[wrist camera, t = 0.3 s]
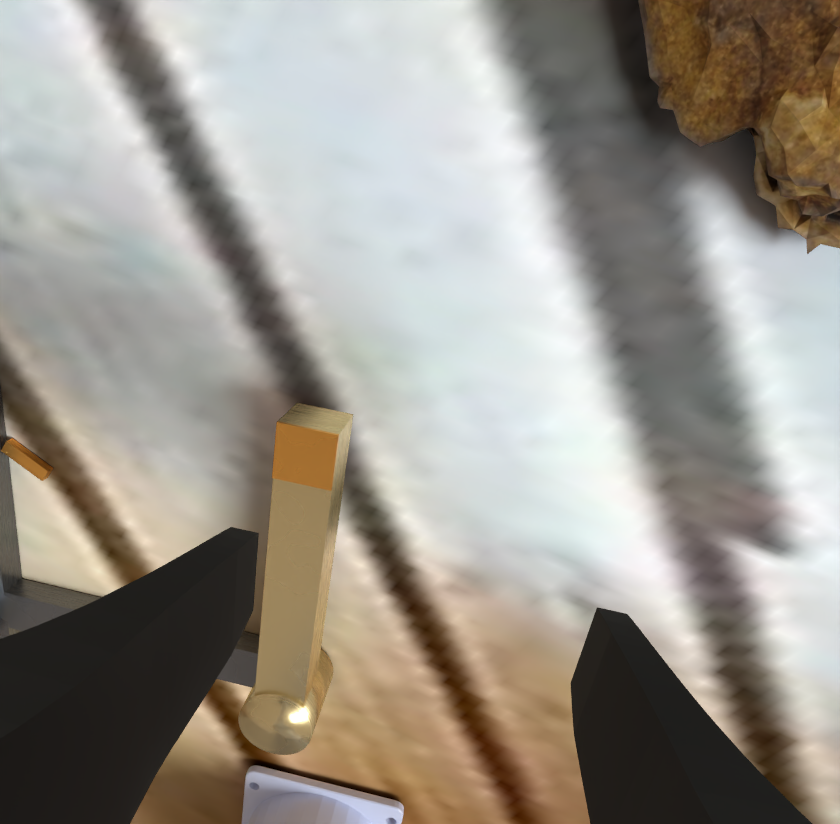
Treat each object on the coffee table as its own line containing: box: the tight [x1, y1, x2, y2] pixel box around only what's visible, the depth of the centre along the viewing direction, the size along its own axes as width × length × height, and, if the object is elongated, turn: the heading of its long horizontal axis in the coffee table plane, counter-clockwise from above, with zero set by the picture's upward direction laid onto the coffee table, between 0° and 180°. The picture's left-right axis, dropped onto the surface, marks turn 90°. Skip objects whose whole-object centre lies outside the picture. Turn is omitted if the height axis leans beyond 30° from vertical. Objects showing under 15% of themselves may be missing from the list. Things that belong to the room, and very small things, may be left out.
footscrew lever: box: [239, 403, 353, 755], centre depth 21 cm, size 14×3×3 cm, turn 170°
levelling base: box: [0, 388, 260, 687], centre depth 21 cm, size 16×18×6 cm
